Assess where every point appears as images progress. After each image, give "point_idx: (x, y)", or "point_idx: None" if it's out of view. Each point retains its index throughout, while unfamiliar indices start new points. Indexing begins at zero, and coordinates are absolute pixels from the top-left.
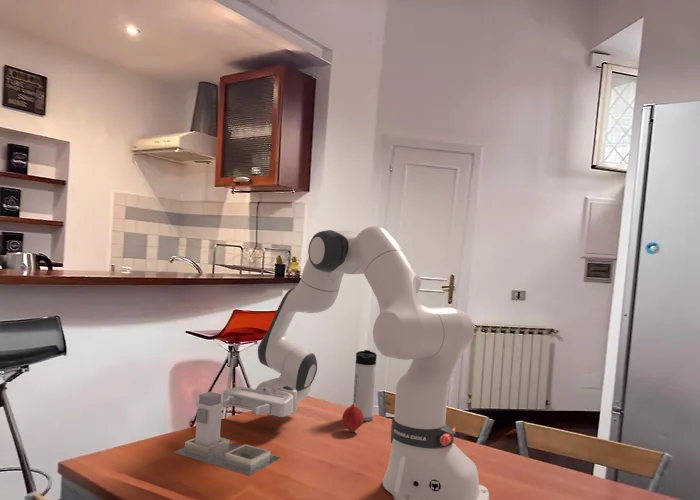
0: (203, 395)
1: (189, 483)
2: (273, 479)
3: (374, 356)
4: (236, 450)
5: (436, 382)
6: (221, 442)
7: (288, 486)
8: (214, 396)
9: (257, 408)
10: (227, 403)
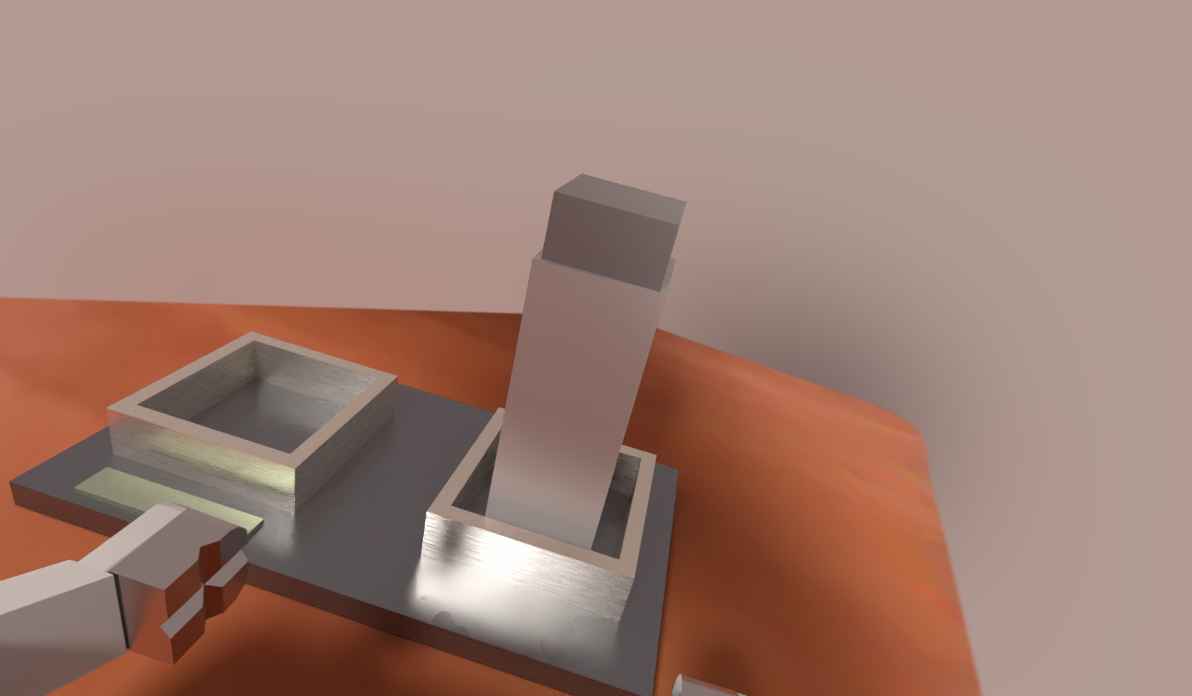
0: (652, 193)
1: (481, 346)
2: (132, 365)
3: None
4: (345, 409)
5: None
6: (464, 471)
7: (68, 331)
8: (574, 178)
9: (157, 508)
10: (673, 690)
